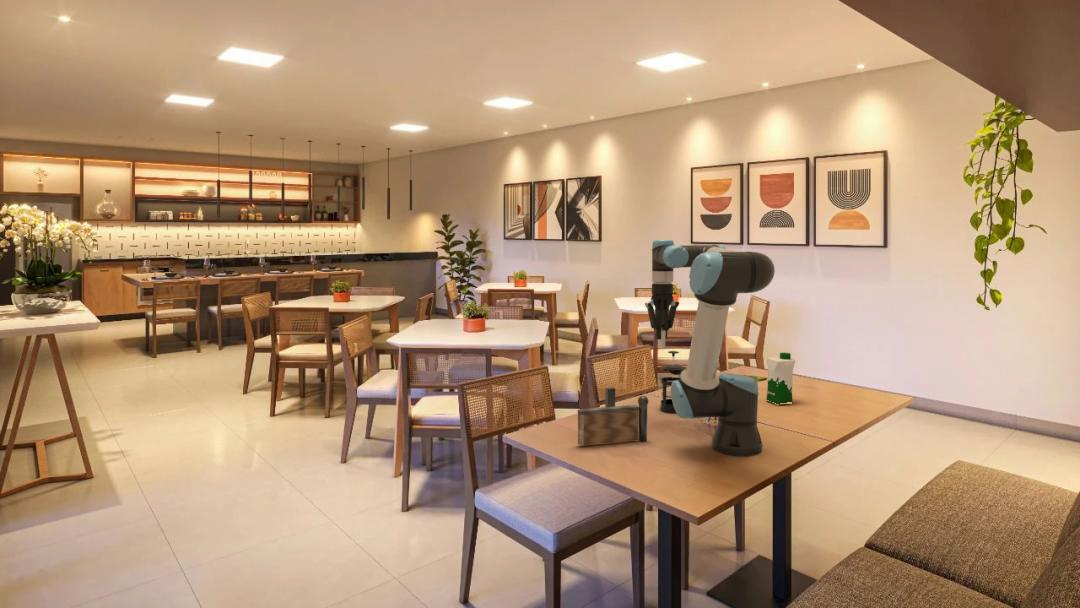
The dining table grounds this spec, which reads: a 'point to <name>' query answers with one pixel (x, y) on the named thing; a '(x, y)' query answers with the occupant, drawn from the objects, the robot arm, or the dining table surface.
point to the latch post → (610, 397)
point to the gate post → (642, 419)
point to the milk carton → (780, 378)
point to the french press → (675, 370)
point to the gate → (607, 425)
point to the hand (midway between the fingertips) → (661, 348)
